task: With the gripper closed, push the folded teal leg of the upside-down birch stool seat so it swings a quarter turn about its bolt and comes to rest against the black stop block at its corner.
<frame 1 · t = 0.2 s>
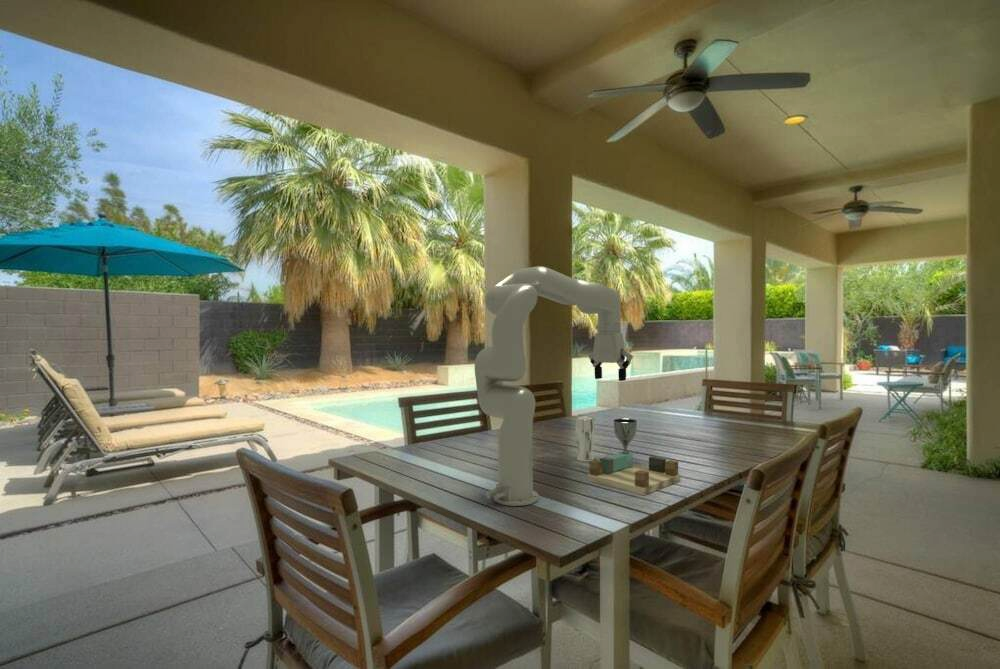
hand: (610, 379, 172), 30 cm above the table, tool pointing down, fingers open, 9 cm apart
silver goblet: (625, 463, 179), on the table
leg: (617, 461, 164), point 5 cm above the table, hinge at 0.0°
seat: (633, 480, 158), on the table
beer glass: (585, 460, 185), on the table
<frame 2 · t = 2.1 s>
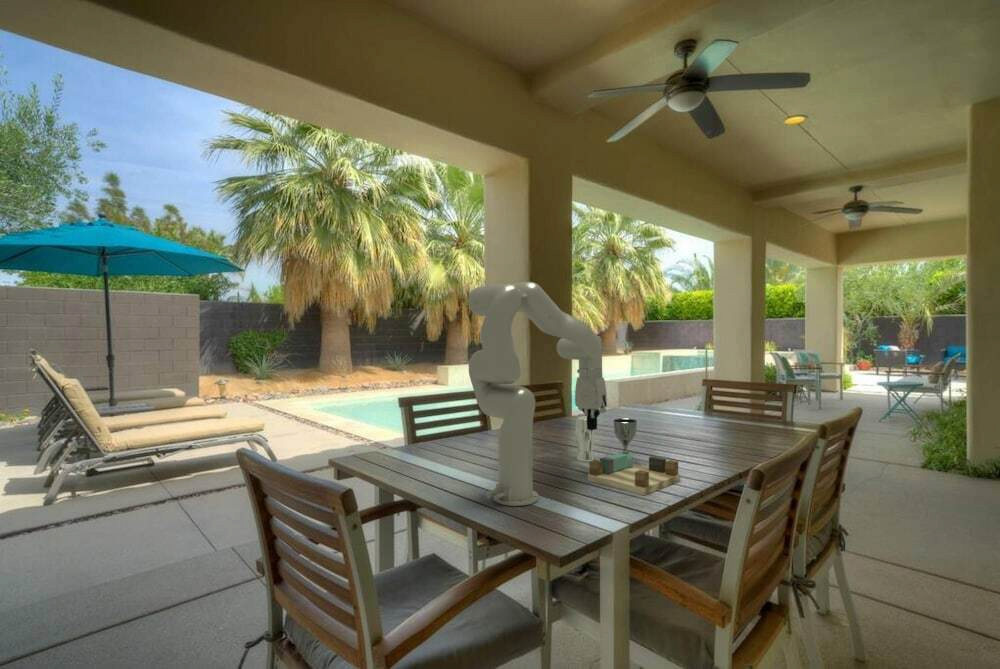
hand: (592, 429, 167), 14 cm above the table, tool pointing down, fingers closed
nothing on the table moved.
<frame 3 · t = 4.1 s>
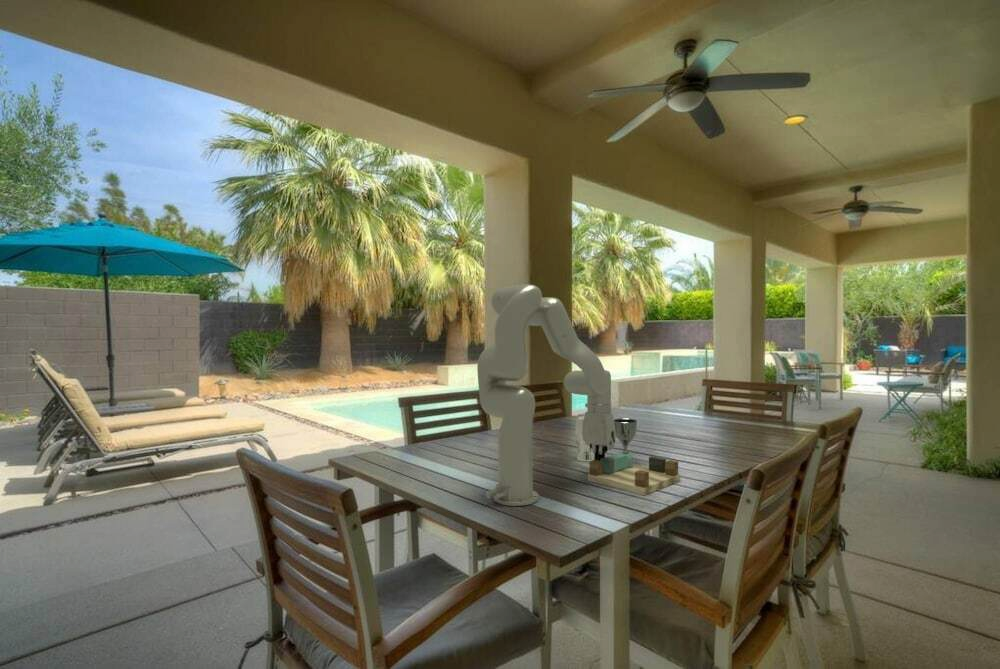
hand: (599, 465, 164), 3 cm above the table, tool pointing down, fingers closed
leg: (617, 461, 164), point 5 cm above the table, hinge at 1.2°, touching gripper
everything else where it was.
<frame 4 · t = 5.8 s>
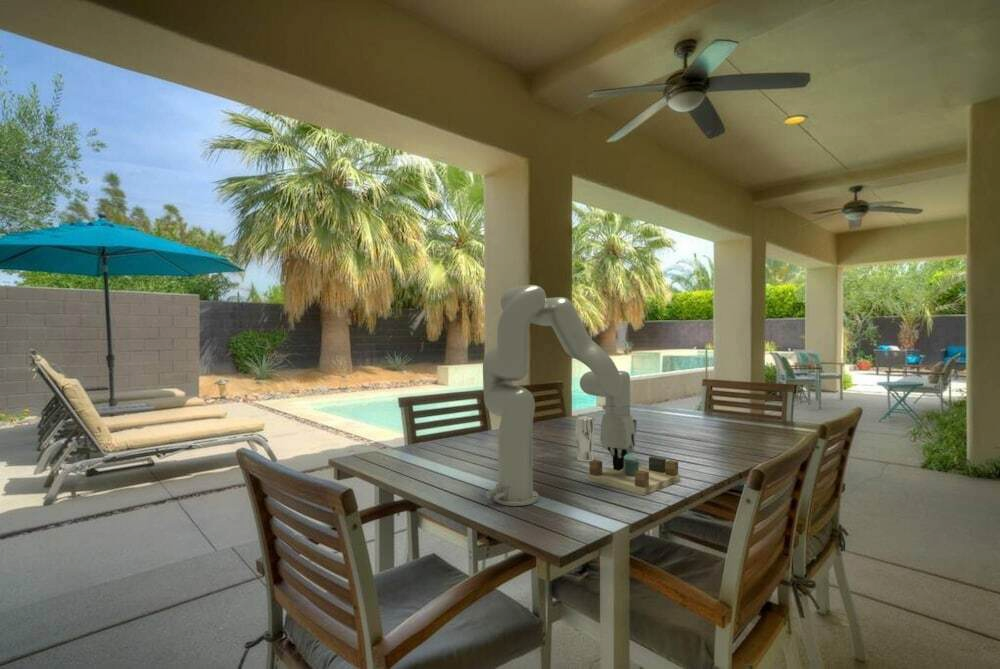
hand: (618, 469, 159), 3 cm above the table, tool pointing down, fingers closed
leg: (628, 462, 163), point 5 cm above the table, hinge at 45.2°, touching gripper
everything else where it was.
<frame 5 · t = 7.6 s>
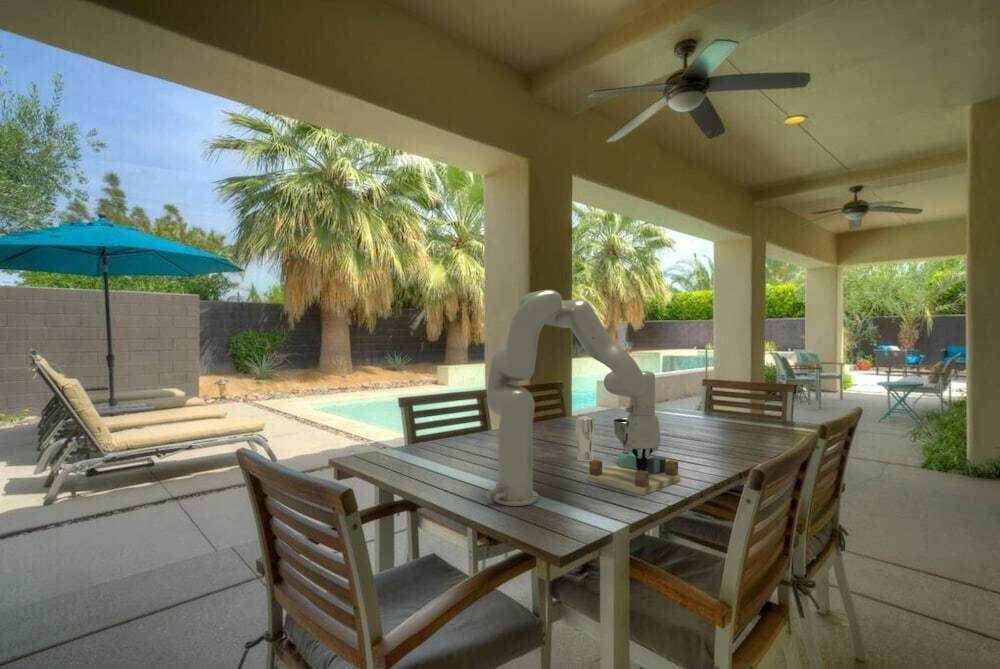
hand: (641, 470, 158), 3 cm above the table, tool pointing down, fingers closed
leg: (638, 461, 164), point 5 cm above the table, hinge at 90.0°, touching gripper, seat
everything else where it was.
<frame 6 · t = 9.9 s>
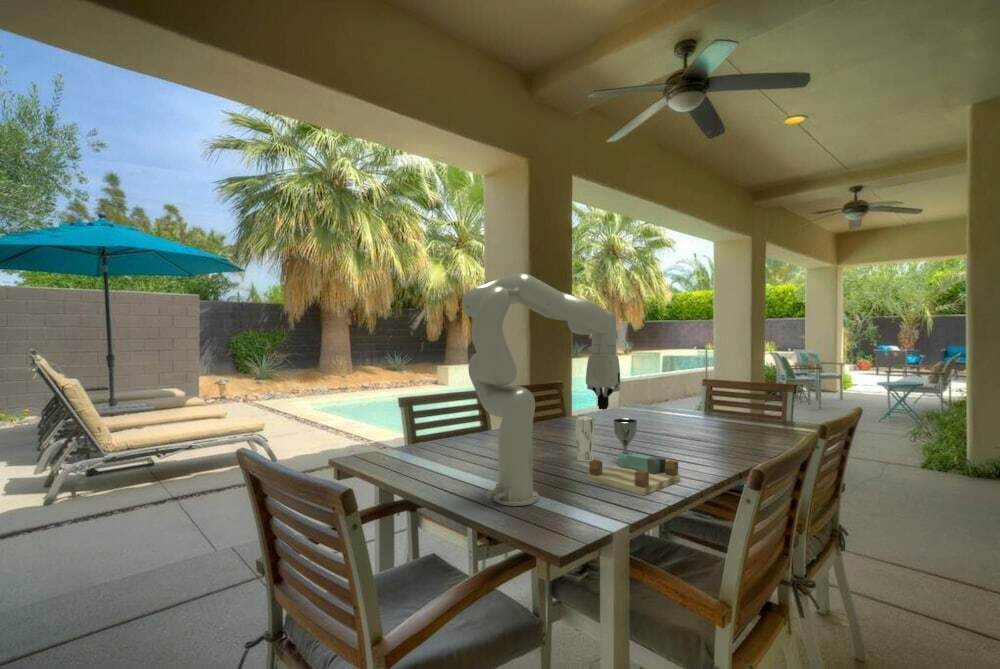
hand: (603, 408, 161), 22 cm above the table, tool pointing down, fingers closed
leg: (638, 461, 164), point 5 cm above the table, hinge at 90.0°
everything else where it was.
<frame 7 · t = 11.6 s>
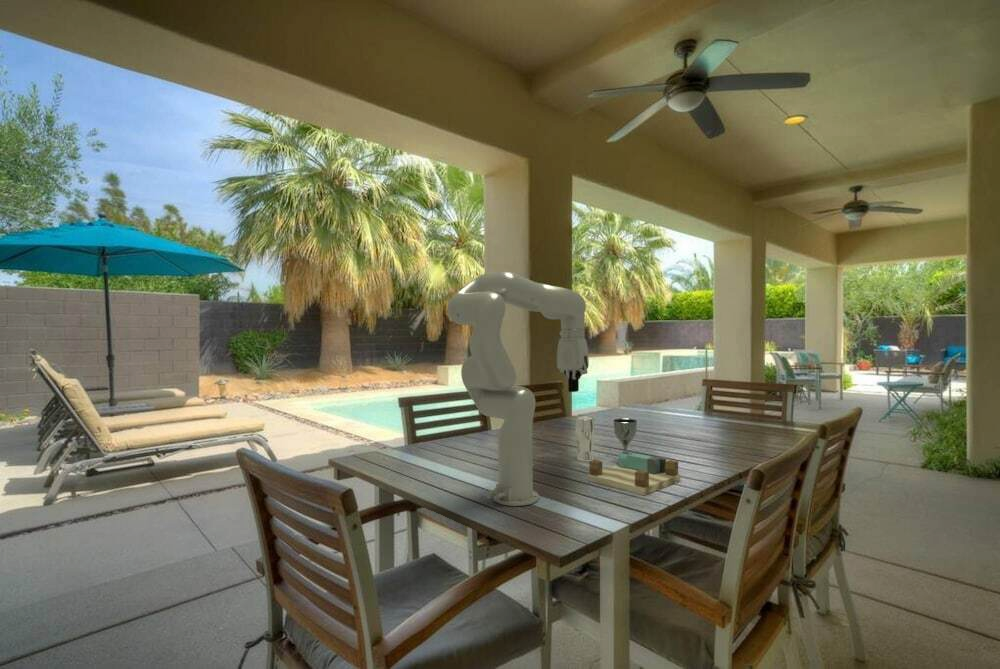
hand: (573, 391, 165), 27 cm above the table, tool pointing down, fingers closed
nothing on the table moved.
at the end: leg at +90° (first picture: +0°); leg touching nothing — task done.
